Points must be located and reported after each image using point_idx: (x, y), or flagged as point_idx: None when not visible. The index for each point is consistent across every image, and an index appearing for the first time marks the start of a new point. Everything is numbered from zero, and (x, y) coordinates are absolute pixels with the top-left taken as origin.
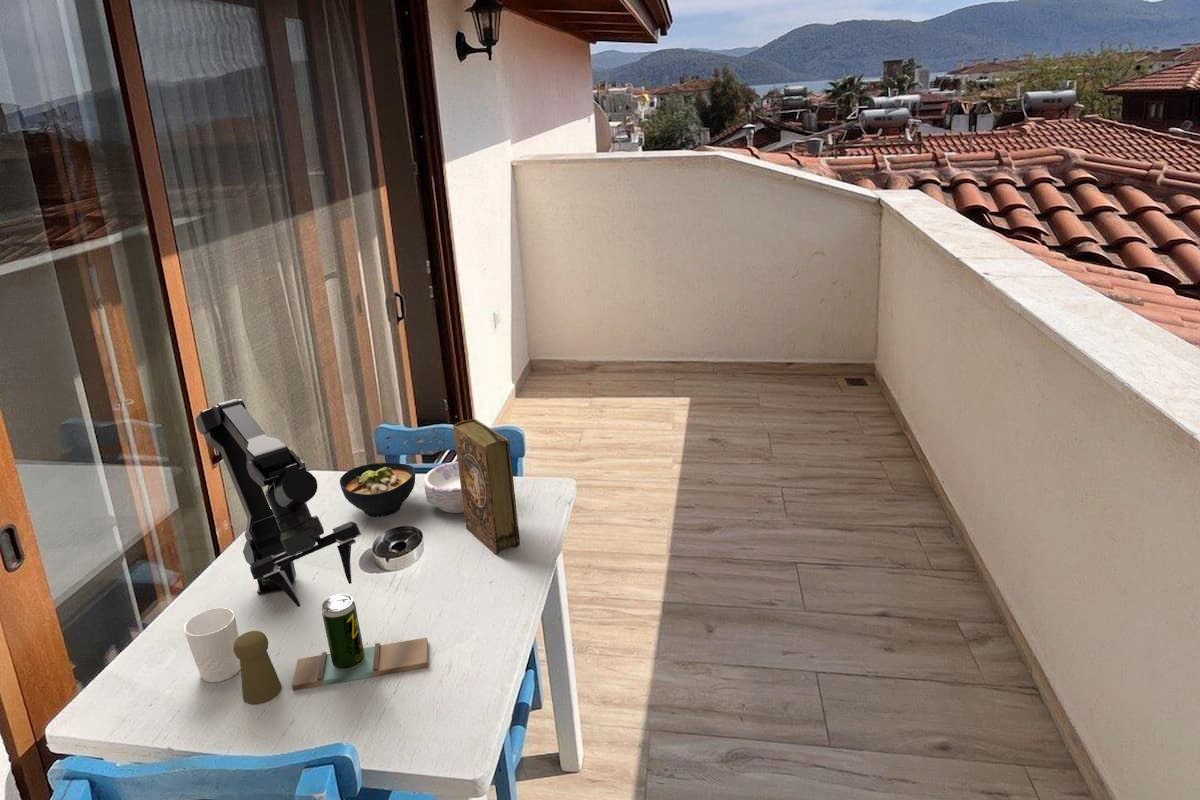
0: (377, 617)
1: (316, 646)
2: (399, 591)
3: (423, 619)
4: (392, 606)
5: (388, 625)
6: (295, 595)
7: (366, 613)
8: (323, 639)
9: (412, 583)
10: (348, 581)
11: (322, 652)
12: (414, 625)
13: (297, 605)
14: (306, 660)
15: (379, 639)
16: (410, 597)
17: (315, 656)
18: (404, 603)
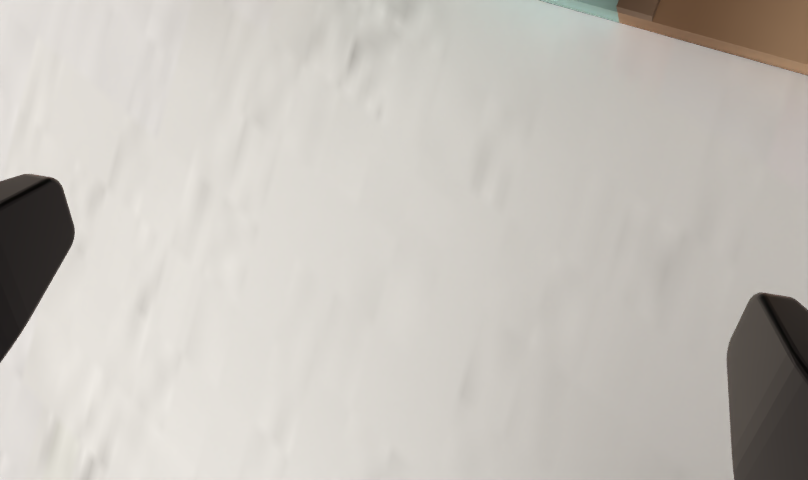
0: (237, 284)
1: (650, 224)
2: (81, 448)
3: (58, 101)
4: (145, 333)
5: (210, 162)
6: (803, 433)
7: (276, 370)
8: (582, 275)
9: (15, 469)
10: (30, 185)
11: (647, 13)
12: (105, 74)
13: (795, 302)
14: (787, 16)
15: (286, 52)
16: (55, 349)
17: (705, 31)
18: (91, 316)
